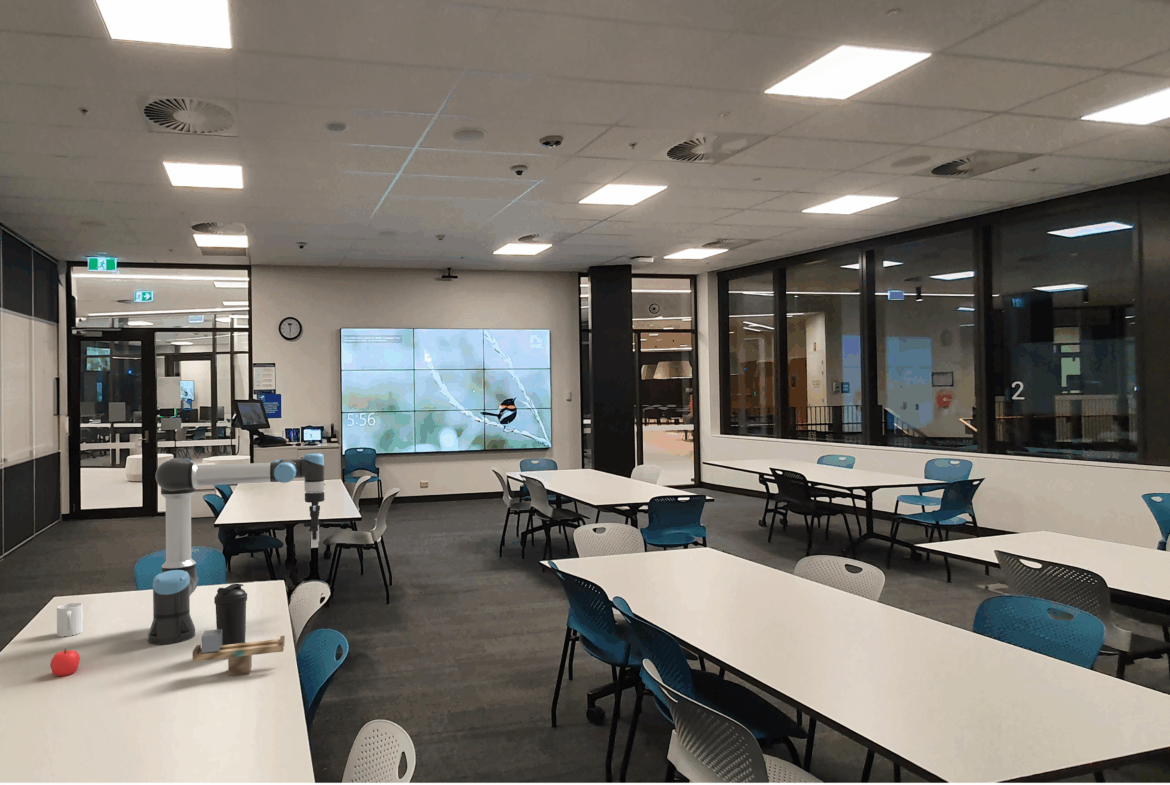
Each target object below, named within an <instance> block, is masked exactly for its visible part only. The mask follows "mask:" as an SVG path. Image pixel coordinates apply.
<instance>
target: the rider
mask: <svg viewBox="0 0 1170 785" xmlns="http://www.w3.org/2000/svg"><path fill="white" fill-rule="evenodd" d="M201 647H202V653H205V652H215V651H220V649H221V647H222V629H217V628H216V629H208V630H204V632H203V634H202V636H201Z"/></svg>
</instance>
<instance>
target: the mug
mask: <svg viewBox="0 0 1170 785" xmlns="http://www.w3.org/2000/svg"><path fill="white" fill-rule="evenodd" d="M83 612H84V611H83V603H81V602H71V603H65V604H62V605H58V606H57V607H56V635H57V637H59V636H60V638H64V636H69V637H73V636H72V635H74V636H77V635H76V634H78V635H80V634H81V632H82V633H83V624H84V621H83V619H84V618H83ZM79 633H80V634H79Z"/></svg>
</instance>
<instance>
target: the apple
mask: <svg viewBox="0 0 1170 785" xmlns="http://www.w3.org/2000/svg"><path fill="white" fill-rule="evenodd" d="M80 661H81V656H80V654H79V652H77V650H74V649H69V650H67V648H64V650H61V651H58V652H56V653H55V654H54V655H53V657H52V658H51V659H50V669H51V673H52V674H53V675H54V676H58V677H65V676H70V675H73V674H74V673H75V672H76V671H77V670H78V669H79V666H80Z"/></svg>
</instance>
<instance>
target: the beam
mask: <svg viewBox="0 0 1170 785" xmlns="http://www.w3.org/2000/svg"><path fill="white" fill-rule="evenodd" d="M285 638H286V637H285V635H280V638H278V639H277V638H276V639H267V640H259V641H250V642H247V641H245V643H237V644H229V645H222V647H221V649H220V651H215V652H205V653H202V643H201V644H196V645H195V647H194V649H192V662H193V663H194V662H201V661H202V662H203V661H208V660H209V661H211V660H220V659H228V663H227V665H228V666H227V667H228V668H227V669H228V670H227V671H228V677H229V678H230V677H238V676H247V675H250V673H251V671H252V667H253V666H252V665H253V664H252V663H253V662H252V661H253V659H252V656H255V655H263V654H264V655H265V654H272V653H282V652H284V649H285V648H284V647H285V644H286V643H285V642H286V640H285Z"/></svg>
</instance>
